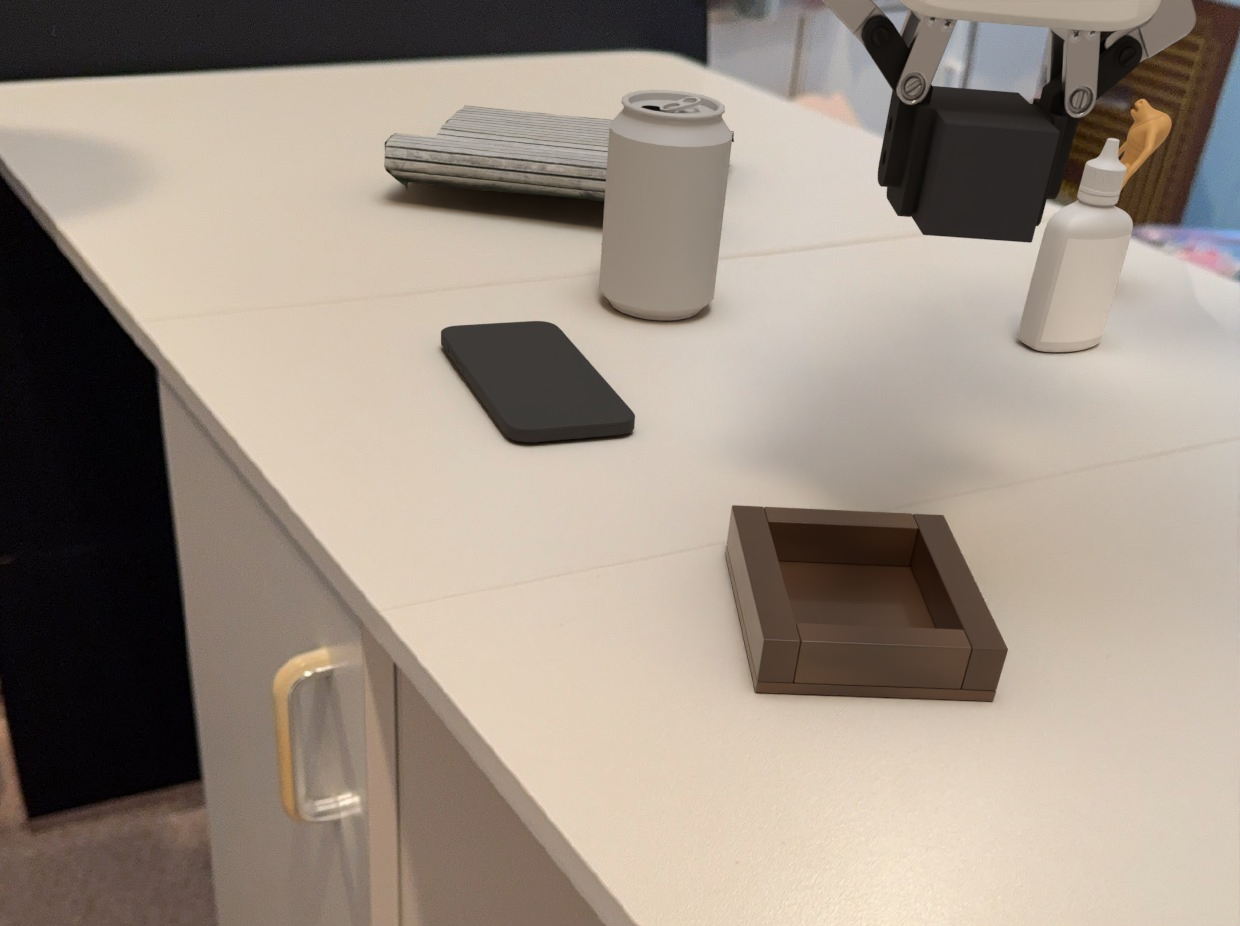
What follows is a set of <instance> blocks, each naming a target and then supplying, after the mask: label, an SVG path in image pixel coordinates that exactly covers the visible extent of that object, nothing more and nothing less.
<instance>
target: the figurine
mask: <svg viewBox="0 0 1240 926" xmlns="http://www.w3.org/2000/svg"><path fill="white" fill-rule="evenodd" d="M1134 107H1135V108H1132V109H1130V116H1131V117H1132V118H1133V124H1132V125H1131V126H1130V128H1129V130H1128V132H1127V135H1126V141H1124V142H1123V144H1121V146H1119V151H1118V158H1119V157H1120V156H1121V155H1122V154H1123V155H1122V157H1121V159H1119V161H1120V162H1121V163H1122V164H1123V165H1125V166H1126V168H1127V171H1126V174H1125V178H1124V181H1123V185H1122V188H1121V191H1122V190H1123V189H1124V187H1125V186H1126V184H1127V183H1128V181H1129V180H1130V178H1131V177H1132V176H1133V175H1134V174H1136V172H1137V171H1138V169H1139V168H1140V167H1141V166H1142V165H1143V164H1144V163H1145V161H1146V160H1147V159H1148V158H1149V157H1150V156H1151V155H1152V154H1153V153H1154V152H1155V151H1156V150H1157V149H1159V147H1160V146H1161V145H1162V143H1164V141H1165V140H1166V139H1167V137H1168V136H1169V134H1170V132H1171V129H1172V126H1173V125H1172V124H1173V123H1172V119H1171V117H1170V115H1168V114H1167V113H1166V112H1163V111H1160V110H1158V109H1155V108H1154V107H1152V106H1151V105H1150V103H1149V102H1148V101H1147V100H1146V99H1145V98H1140V99H1139V100H1137V101H1136V102H1135V103H1134ZM1123 152H1124V153H1123Z"/></svg>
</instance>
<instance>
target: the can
mask: <svg viewBox="0 0 1240 926" xmlns="http://www.w3.org/2000/svg"><path fill="white" fill-rule="evenodd" d="M621 104H622V106H623V108H622V109H621V111H619V113H618V114H616V116H615V117H614V118H613V119H611V120H612V121H611V123H610V127H609V141H608V157H607V172H606V188H605V202H603V203H604V204H603V219H602V220H603V221H602V222H603V223H602V237H601V250H600V251H601V252H600V267H599V283H598V289H599V291H600V292H601V293H602V295H603V296H604V297H605V298H606V299H607V300H608V301H609V304H610V305H611V306H612V308H613V309H615V310H617V311H618V312H620V313H622V314H625V315H628V316H630V317H633V318H639V319H644V320H649V321H679V320H686V319H689V318H691V317H694V316H696V315H698V313H700V312H701V310H702V309H703V308H705V307H706V306H707V305H709V304H710V303H711V302H712V301H713V300H714V298H715V291H716V283H717V274H718V264H719V256H720V247H721V239H722V238H721V237H722V231H723V221H724V214H725V205H726V195H727V187H728V177H729V169H730V162H731V152H732V143H733V142H732V132H731V131H732V130H731V129H730V128H729V126H728V124H727V123H726V121H725V120H724V118H723V114H725V113H726V106H725V105H724V103H722V102H721V101H719V100H718V99H716V98H713V97H710V96H707V95H705V94H699V93H695V92H689V91H683V90H672V89H671V90H670V89H646V90H645V89H644V90H637V91H632V92H628V93H626V94H625V95H624V96H622V97H621Z"/></svg>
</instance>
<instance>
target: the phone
mask: <svg viewBox="0 0 1240 926" xmlns="http://www.w3.org/2000/svg"><path fill="white" fill-rule="evenodd" d="M440 345H441V347H442V348H443V350H444V351H445V352H446V354H447V355H448V357H449V358H450V360H451V361H452V362H453V364H454V365H455V366H456V368H457V369H458V371H459V372H460V373H461V375H462V377H463V378H464V379H465V381H466V382H467V383H468V385H469V386H470V388H471V389H472V390H473V392H474V393H475V395H476V396H477V397H478V399H479V401H480V402H481V404H483V407H485V409H486V410H487V412H488V413H489V414H490V416H491V417H492V419H493V420H494V422H495V423H496V424H497V426H498V427H499V429H500V430H501V432H502V433H503V434H504V435H505V436H506V437H508V438H509V440H512V441H515V442H519V443H540V442H541V443H542V442H551V441H552V442H553V441H565V440H578V439H589V438H590V439H591V438H599V437H611V436H621V435H626V434H629V433H631V432H633V431H634V429H635V424H636V423H635V422H636V413H635V412H634V411H633V410H632V409H631V408H630V406H629V405H628V404H627V403H626V402H625V401H624V400H623V399H622V397H621V396H620V395H619V394H618V393H617V391H616V390H615V389H614V388H613V387H612V386H611V384H609V382H608V381H606V380H607V379H605V378H604V377H603V376H602V374H601V373H600V372H599V371H598V370H597V369H596V368H595V366H594V365H593V364H591V363H592V362H590V361H589V360H588V358H586V356H585V355H584V354H583V353H582V352H581V351H580V350H579V348H578V347H577V346H576V345H575V343H573V342H572V340H571V339H570V338H569V337H568V336H567V335H566V333H565V332H564V331H563V330H562V329H561V328H560V327H559V326H558V325H557V324H554V323H553V322H550V321H545V320H530V321H529V320H527V321H510V322H509V321H507V322H495V323H493V322H492V323H475V324H474V323H473V324H460V325H450V326H446V327H444V328H443V329H441V331H440Z"/></svg>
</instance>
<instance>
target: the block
mask: <svg viewBox="0 0 1240 926" xmlns="http://www.w3.org/2000/svg"><path fill="white" fill-rule="evenodd" d="M932 86H933V92H932V97H931V102H930V103H931V104H932V105H933V106H934V107H935V108H936V110H937V112H936V120H935V125H934V130H933V135H932V139H931V144H930V149H929V154H928V159H927V164H926V169H925V174H924V179H923V184H922V189H921V194H920V198H919V203H918V208H917V212H916V213H915V214H912V216H911V217H910V218H912V220H913V221H914V223H915V224H916V226H917V228H918V230H919V231H920V232H921V234H922V235H923V236H930V237H931V236H933V237H944V238H945V237H946V238H961V239H973V240H988V241H1000V242H1003V241H1004V242H1017V243H1028V244H1029V243H1030V244H1031V243H1032V242H1033V240H1034V236H1035V231H1036V228H1037V226H1036V224H1037V220H1038V216H1039V213H1040V209H1041V205H1042V201H1043V197H1044V193H1045V189H1046V185H1047V181H1048V177H1049V173H1050V169H1051V166H1052V162H1053V158H1054V154H1055V150H1056V146H1057V142H1058V138H1059V134H1060V131H1059V130H1058V129H1056V128H1055V127H1054V126H1053V125H1052V124H1051V123H1050V122H1049V121H1048V120H1047V119H1046V118H1045V117H1043V116H1042V115H1041V114H1040V113H1039V112H1038V111H1037V110H1036V109H1035V108H1034V107H1033V106H1032V105H1031V104H1032V103H1031V102H1029V101H1028V100H1027V99H1026V98H1025V97H1024V96H1023V95H1022V94H1021V93H1020V92H1014V91H1002V90H991V89H978V88H977V89H975V88H966V87H965V88H963V87H951V86H937V85H932Z"/></svg>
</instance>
